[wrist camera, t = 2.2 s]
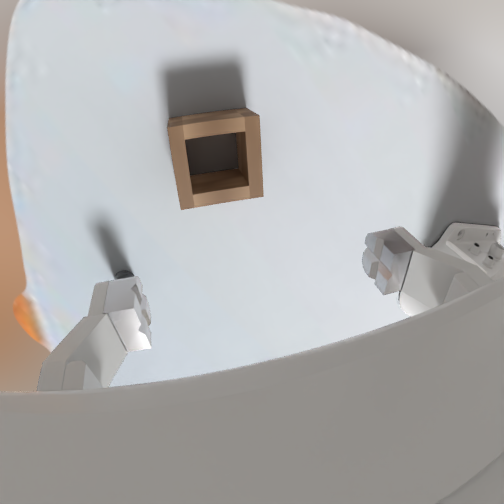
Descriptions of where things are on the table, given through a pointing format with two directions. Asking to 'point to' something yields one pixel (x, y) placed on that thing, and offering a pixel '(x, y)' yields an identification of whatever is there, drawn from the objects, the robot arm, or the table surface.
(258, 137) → the collar
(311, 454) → the robot arm
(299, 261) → the table surface
